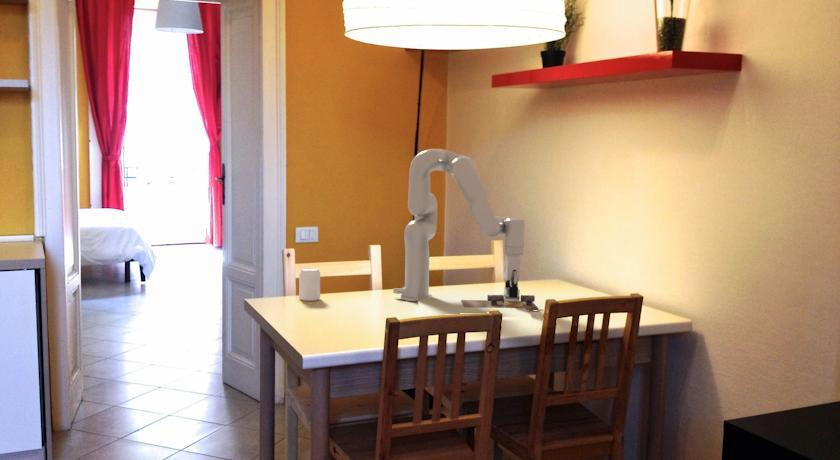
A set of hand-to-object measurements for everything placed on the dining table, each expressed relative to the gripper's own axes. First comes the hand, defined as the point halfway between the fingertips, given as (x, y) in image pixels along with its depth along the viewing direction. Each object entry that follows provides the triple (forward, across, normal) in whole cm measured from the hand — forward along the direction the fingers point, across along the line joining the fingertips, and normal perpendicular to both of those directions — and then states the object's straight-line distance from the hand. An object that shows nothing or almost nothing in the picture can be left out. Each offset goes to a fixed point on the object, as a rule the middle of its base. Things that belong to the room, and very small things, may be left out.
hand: (511, 294), depth 306 cm
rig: (+5, 0, -5) cm, 7 cm away
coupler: (+4, 0, 0) cm, 4 cm away
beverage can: (+6, -9, -78) cm, 78 cm away
